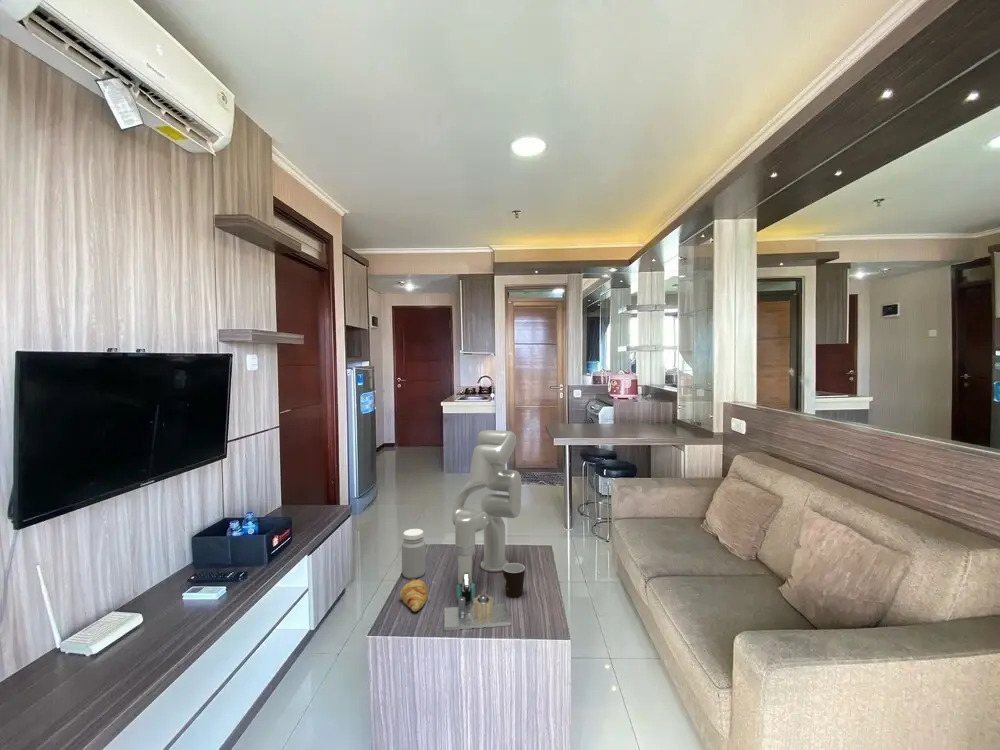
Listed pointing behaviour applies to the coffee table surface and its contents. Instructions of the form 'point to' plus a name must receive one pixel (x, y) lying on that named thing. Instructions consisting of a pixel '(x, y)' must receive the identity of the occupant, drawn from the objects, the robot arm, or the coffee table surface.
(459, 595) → the gear
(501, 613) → the board
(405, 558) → the jar
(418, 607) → the croissant
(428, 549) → the coffee table surface
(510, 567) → the coffee mug
